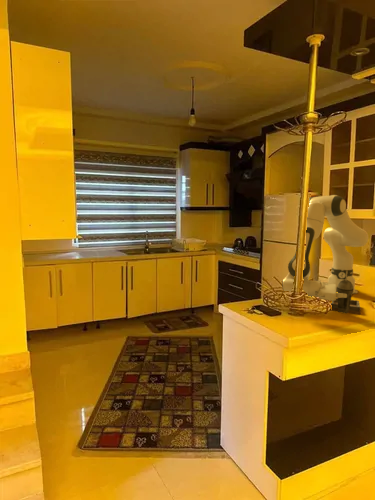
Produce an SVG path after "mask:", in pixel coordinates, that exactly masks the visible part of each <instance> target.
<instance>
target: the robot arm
mask: <svg viewBox="0 0 375 500" xmlns="http://www.w3.org/2000/svg"><path fill="white" fill-rule="evenodd" d="M308 198H309V207H308V217H307V230H306V250H305V260H304V262H305V264H304V270H303V279H304V284H303V290H304V291H305V292H306V293H307V294H308V296H311V297H312V296H315V297H319V300H324V301H329V302H330V301H335V300H336V298H347V294H346V293H336V292H338V291H337V286H338V284H339V282H340V281H342V280H346V271H348V272H347V280H348V281H350V282H351V283H352V285H353V289H354V290H353V293H352V295H353V294H358V292H359V291H358V290H357V289H356V287H355V285H356V279H355V278H354V276H353V275H354V269H353V268H354V256H353V254H352V253H350V252H349V251H348V250H347V248H346V247H352V248H354V247H355V248H359V247H360V248H361V247H364V246H366V244H367V243H368V242H369V234H368V232H367V230H365V229H363V228H362V227H360V226H358V225H357V224H356V223H355V222H353V220H352V219H351V218H350V215H349V213H348V210H347V201H346V200H345V198H344V197H343V196H340V195H337V194H331V195H321V196H311V197H308ZM325 218H326V219H327V221H328V224H329V226H330V227H327V228H326V229H325V230H324V231H323V227H324V222H325ZM322 231H323V234H322V235H323V240H324V242H325V243H327V244H328V246H329V248H330V249H331V252H332V267H331V272H330V273H331V274H330V275H329V276H328V278H327V282H325V281H322V280H319V279H318V280H310V279H309V278H310V276H311V272H312V271H311V265H310V259H309V258H310V257H309V256H310V253H311V250H312V246H313V243H314V241H315V240H317V239H318V238H319V237H320V235H321V233H322ZM296 251H297V249H296ZM296 251H295V254H294V255H293V257H292V258H291V259H290V260H289V261H288V262H289V263H288V264H287V265H288V266H287V270H288V273H287V275H286V276H285V277H284V278H283V279H282V281H281V282H282V283H281V285H282V291H283V290H284V291H289V292H291V291H292V288H293V282H294V276H295V266H296ZM284 291H283V292H284Z"/></svg>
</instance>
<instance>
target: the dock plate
mask: <svg viewBox="0 0 375 500" xmlns="http://www.w3.org/2000/svg"><path fill="white" fill-rule="evenodd" d="M331 305H332V310H331V311H333V312H338V298H336V300H335V301H332V303H331ZM347 314H357V315H362V309H361V305H360V301H359V300H357V299H356V300H355V299H351V302H350V307H349V311H348V313H347Z"/></svg>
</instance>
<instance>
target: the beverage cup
mask: <svg viewBox="0 0 375 500" xmlns="http://www.w3.org/2000/svg"><path fill="white" fill-rule="evenodd" d="M347 272H348V271H346V280H342V281H340V282H339V284H338V286H337V291H338V293H346V294H347V298H338V311H337V312H338V313H341V314H349V313H348V311H349V307H350V302H351V300H352V296H353V294H354V293H353V290H354V289H353V285H352V283H351V282H350V281H348V280H347ZM352 293H353V294H352Z"/></svg>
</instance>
